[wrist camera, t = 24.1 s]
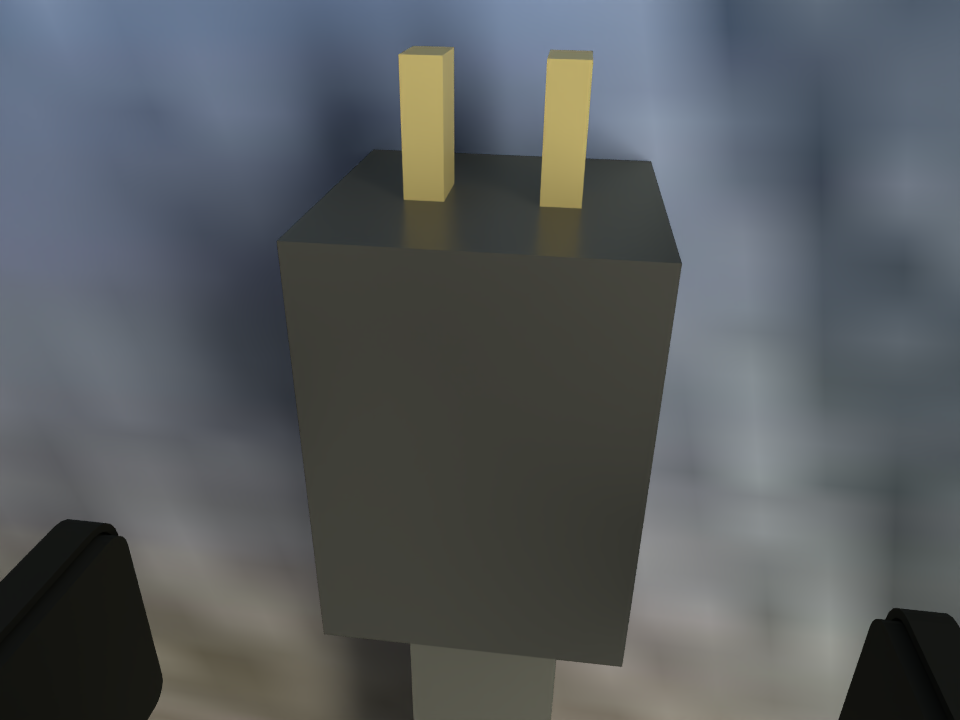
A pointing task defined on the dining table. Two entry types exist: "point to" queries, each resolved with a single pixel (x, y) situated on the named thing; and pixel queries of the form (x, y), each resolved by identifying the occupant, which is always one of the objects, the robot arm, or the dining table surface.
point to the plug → (481, 394)
